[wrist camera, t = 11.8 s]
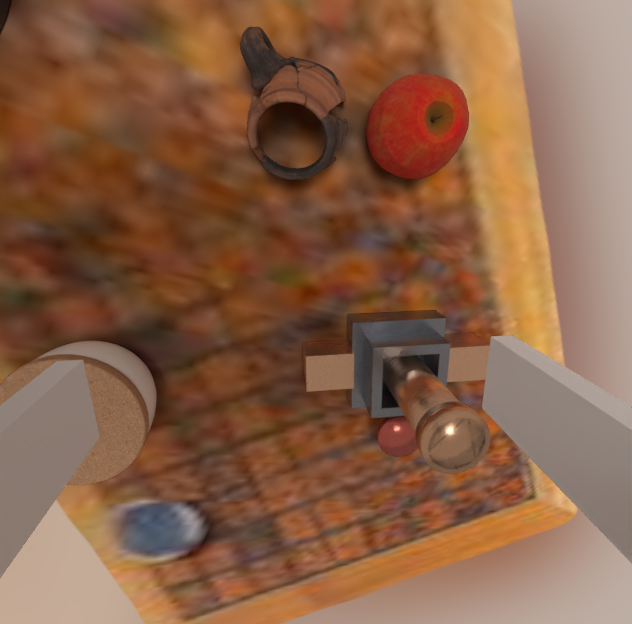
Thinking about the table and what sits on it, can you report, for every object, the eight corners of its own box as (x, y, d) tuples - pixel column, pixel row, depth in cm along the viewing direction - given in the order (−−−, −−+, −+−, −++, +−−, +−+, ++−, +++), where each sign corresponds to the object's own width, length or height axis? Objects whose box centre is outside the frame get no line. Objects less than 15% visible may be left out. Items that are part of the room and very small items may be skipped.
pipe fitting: (373, 387, 42) (420, 476, 29) (374, 343, 41) (425, 415, 27) (419, 384, 43) (486, 470, 30) (422, 340, 41) (494, 410, 28)
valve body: (305, 434, 47) (310, 474, 40) (302, 316, 42) (307, 339, 36) (464, 421, 49) (494, 458, 42) (476, 307, 44) (513, 328, 37)
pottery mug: (368, 114, 37) (368, 150, 32) (294, 168, 42) (282, 208, 36) (288, -14, 31) (270, 2, 25) (211, 66, 36) (181, 95, 30)
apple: (429, 77, 37) (490, 32, 26) (446, 165, 39) (508, 156, 29) (347, 104, 36) (376, 70, 26) (370, 191, 39) (404, 191, 29)
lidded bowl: (86, 443, 44) (28, 522, 34) (23, 348, 40) (-65, 404, 30) (190, 405, 44) (164, 471, 33) (137, 306, 40) (89, 346, 30)
